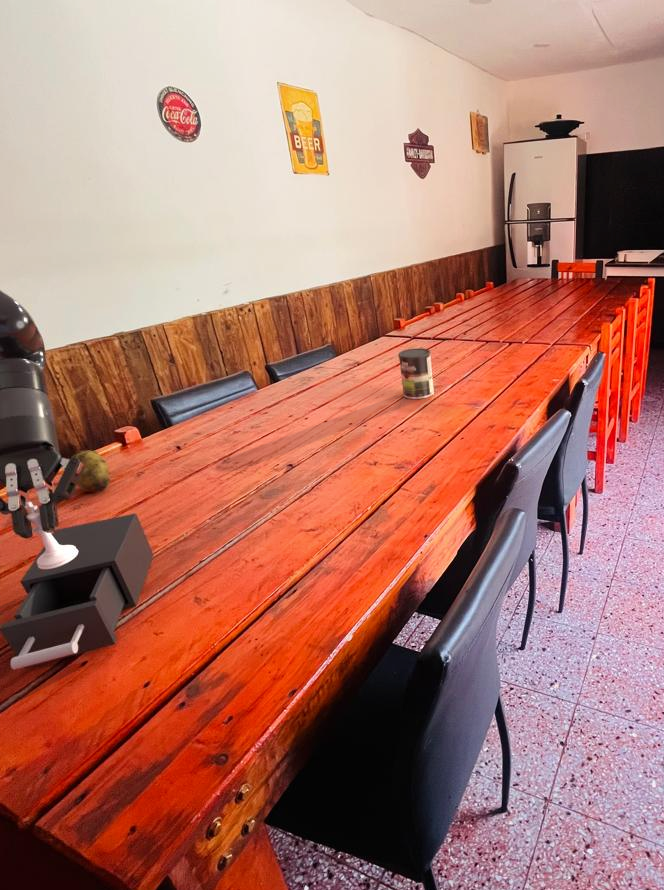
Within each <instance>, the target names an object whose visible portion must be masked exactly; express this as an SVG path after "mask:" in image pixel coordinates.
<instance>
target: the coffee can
mask: <svg viewBox="0 0 664 890" xmlns="http://www.w3.org/2000/svg"><path fill="white" fill-rule="evenodd" d="M397 356H398V359H399V367H400V375H401V383H402V392H403V397H404V398H405V399H408V400H423V399H428V398H429V397H432V396H434V394H435V391H434V382H433V381H434V380H433V379H434V378H433V371H432V358H431V350H429V349H427V348H421V347H419V348H407V349H404V350H401V351H400V352H399V353H398V355H397Z"/></svg>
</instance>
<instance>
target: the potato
mask: <svg viewBox="0 0 664 890" xmlns="http://www.w3.org/2000/svg"><path fill="white" fill-rule="evenodd" d="M72 458H76V459H78V460H79V461H80V462H82V463H83V464H84V465H85V469H84V471H83V473H82V475H81V477H80V479H79V481H78V483H77V485H76V486H77V487H79V489H80V490H82V491H84V492H88V493H99V492H103V491H104V490H106V489H107V488H108V487H109V486H110V484H111V477H110V474H111V473H110V469H109V466H108V463H107V461H106V459H105V458H104V457H102V455H100V453H98V452H97V450H89V449H85V450H80V451H78V452H76V453H74V454H73V455H72V456H71V457H70V459H72Z"/></svg>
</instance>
